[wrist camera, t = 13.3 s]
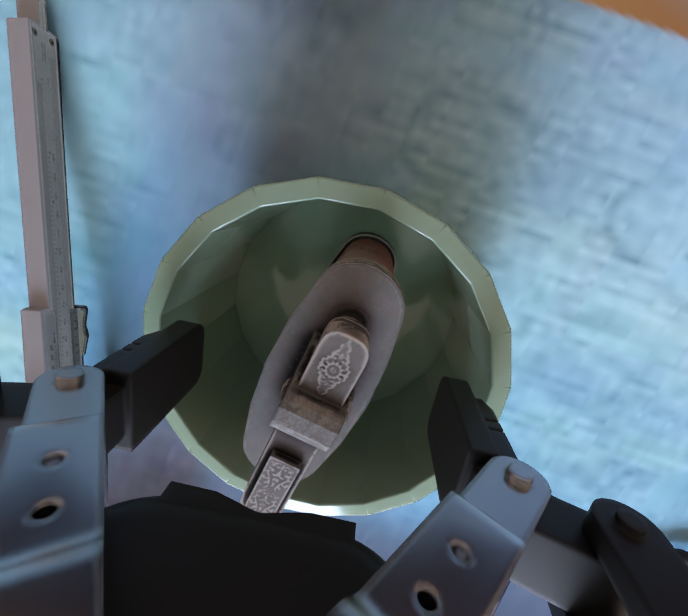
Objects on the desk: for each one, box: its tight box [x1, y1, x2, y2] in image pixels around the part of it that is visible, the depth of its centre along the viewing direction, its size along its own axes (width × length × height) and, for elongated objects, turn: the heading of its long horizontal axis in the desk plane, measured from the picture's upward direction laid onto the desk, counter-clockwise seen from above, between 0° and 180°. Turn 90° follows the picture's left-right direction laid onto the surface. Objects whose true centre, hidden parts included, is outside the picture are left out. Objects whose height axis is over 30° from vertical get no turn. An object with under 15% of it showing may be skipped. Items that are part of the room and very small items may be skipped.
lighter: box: [241, 232, 405, 513], centre depth 13 cm, size 8×3×10 cm, turn 154°
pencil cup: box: [143, 176, 511, 516], centre depth 15 cm, size 12×12×8 cm
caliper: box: [6, 0, 89, 383], centre depth 16 cm, size 20×1×6 cm, turn 179°
